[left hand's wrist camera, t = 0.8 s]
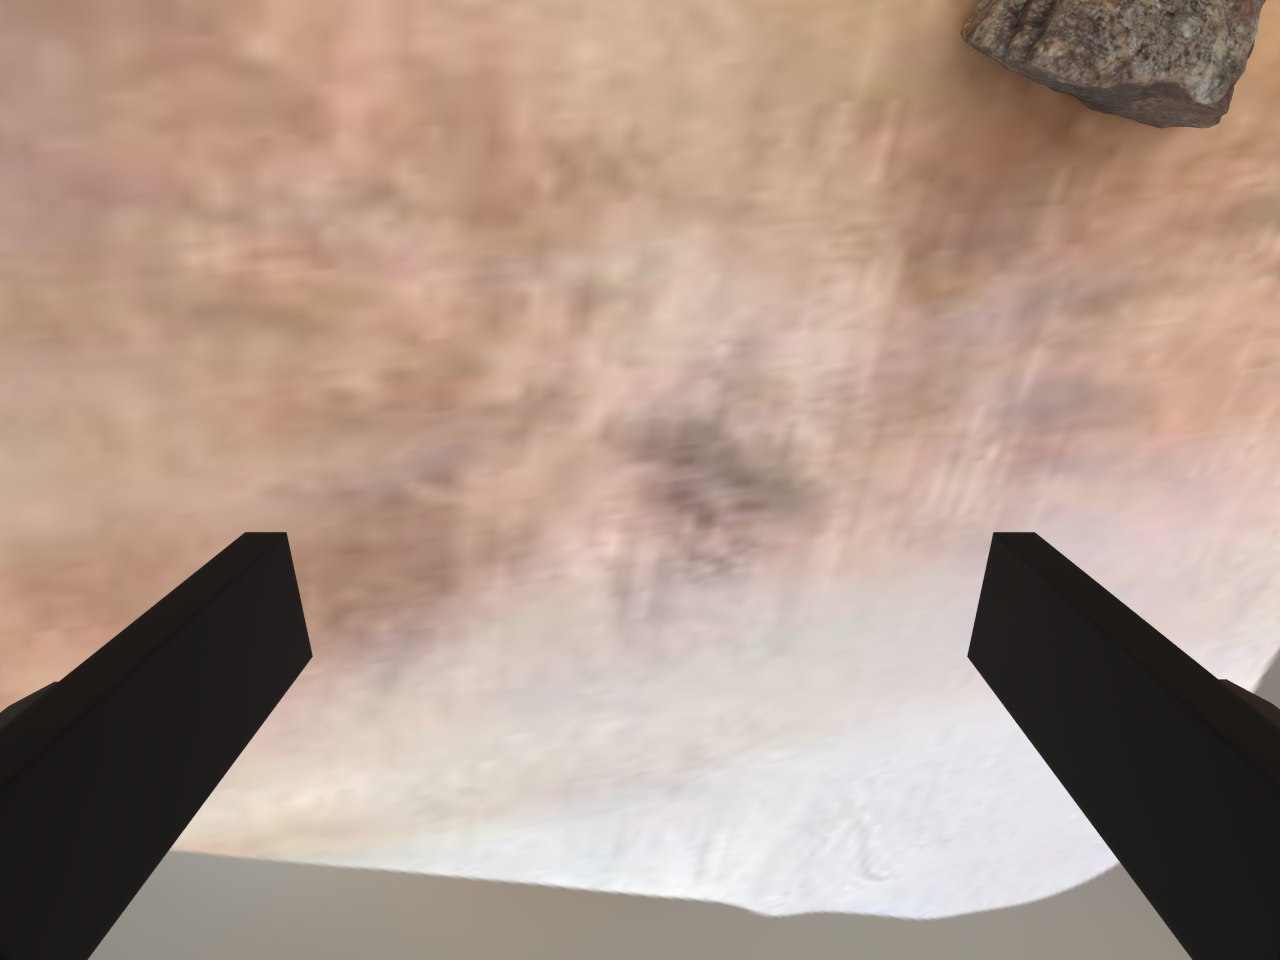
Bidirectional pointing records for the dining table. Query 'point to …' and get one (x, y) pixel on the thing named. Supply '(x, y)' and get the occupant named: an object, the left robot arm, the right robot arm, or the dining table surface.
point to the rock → (1125, 52)
